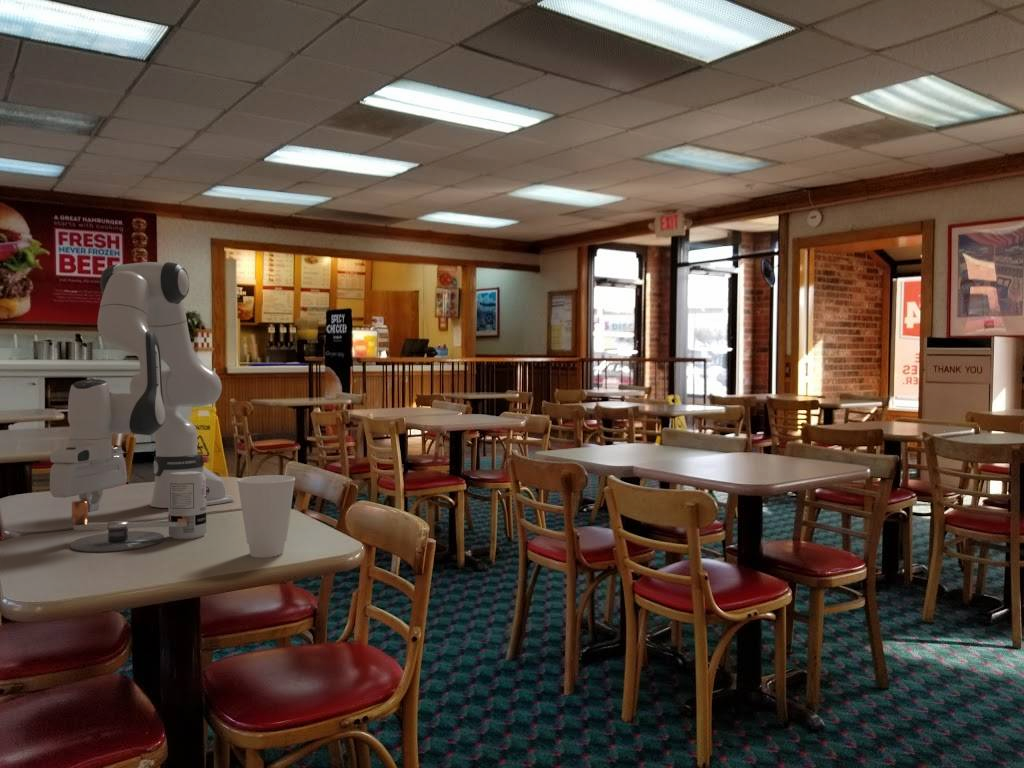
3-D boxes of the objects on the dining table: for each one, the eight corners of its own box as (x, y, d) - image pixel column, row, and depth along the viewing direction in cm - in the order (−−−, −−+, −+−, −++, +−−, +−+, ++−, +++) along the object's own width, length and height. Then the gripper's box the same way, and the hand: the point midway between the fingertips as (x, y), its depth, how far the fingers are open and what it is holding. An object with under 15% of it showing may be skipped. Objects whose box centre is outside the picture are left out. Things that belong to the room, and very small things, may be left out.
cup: (240, 562, 164) (239, 484, 164) (235, 550, 175) (234, 476, 175) (300, 557, 169) (299, 480, 169) (291, 545, 180) (291, 473, 180)
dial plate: (149, 530, 196) (148, 518, 196) (175, 543, 182) (175, 530, 182) (61, 541, 184) (61, 528, 184) (82, 556, 169) (82, 542, 169)
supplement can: (162, 536, 189) (161, 472, 189) (196, 531, 195) (196, 469, 195) (178, 541, 184) (177, 475, 183) (212, 536, 190) (212, 472, 189)
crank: (189, 524, 187) (189, 497, 187) (185, 528, 183) (184, 500, 182) (76, 527, 183) (76, 500, 183) (68, 531, 179) (68, 503, 179)
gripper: (110, 446, 195) (111, 503, 196) (43, 455, 175) (44, 518, 176) (133, 446, 194) (134, 504, 194) (68, 456, 174) (69, 520, 174)
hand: (91, 511), depth 185 cm, fingers closed
